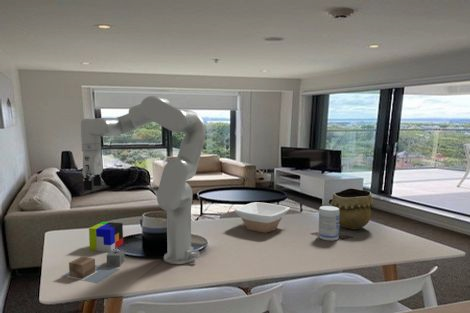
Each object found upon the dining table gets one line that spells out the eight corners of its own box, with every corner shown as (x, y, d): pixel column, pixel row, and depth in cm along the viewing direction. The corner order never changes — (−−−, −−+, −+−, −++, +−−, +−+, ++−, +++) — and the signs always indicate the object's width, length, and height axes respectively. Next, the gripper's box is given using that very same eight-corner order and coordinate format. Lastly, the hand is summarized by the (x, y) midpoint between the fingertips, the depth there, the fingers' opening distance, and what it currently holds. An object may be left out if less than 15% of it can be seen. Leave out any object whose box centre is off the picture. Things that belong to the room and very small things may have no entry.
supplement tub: (340, 241, 161) (341, 210, 159) (320, 241, 161) (321, 210, 160) (336, 234, 170) (337, 205, 169) (316, 234, 171) (317, 205, 170)
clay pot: (353, 237, 167) (354, 196, 165) (321, 225, 186) (323, 189, 184) (381, 230, 177) (383, 192, 175) (349, 220, 196) (350, 185, 194)
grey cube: (124, 262, 136) (124, 250, 135) (119, 268, 131) (119, 255, 130) (112, 262, 136) (111, 250, 136) (106, 268, 131) (106, 255, 131)
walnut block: (95, 271, 126) (94, 258, 125) (83, 278, 120) (82, 265, 120) (82, 269, 128) (81, 256, 127) (69, 276, 122) (68, 262, 122)
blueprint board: (120, 270, 128) (120, 269, 128) (97, 285, 117) (97, 283, 117) (85, 264, 134) (85, 263, 134) (60, 277, 122) (60, 276, 122)
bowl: (230, 230, 178) (230, 209, 177) (255, 219, 198) (255, 201, 197) (270, 239, 164) (270, 217, 163) (293, 226, 184) (293, 207, 183)
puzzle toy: (111, 252, 146) (110, 229, 145) (89, 251, 148) (89, 228, 147) (123, 244, 156) (122, 223, 155) (103, 243, 158) (102, 221, 157)
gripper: (92, 149, 137) (93, 191, 139) (107, 146, 154) (109, 184, 156) (73, 149, 137) (75, 192, 139) (90, 146, 154) (92, 184, 156)
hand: (93, 187), depth 147 cm, fingers open, 9 cm apart
